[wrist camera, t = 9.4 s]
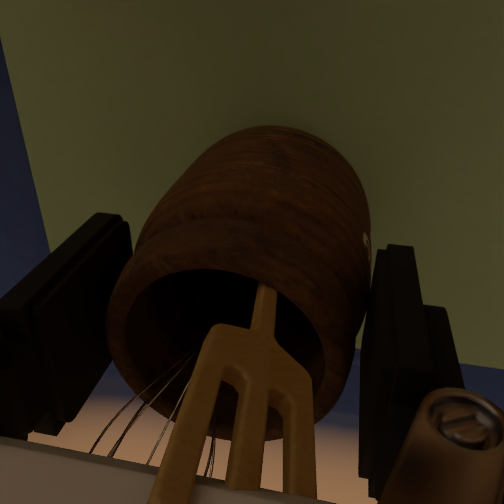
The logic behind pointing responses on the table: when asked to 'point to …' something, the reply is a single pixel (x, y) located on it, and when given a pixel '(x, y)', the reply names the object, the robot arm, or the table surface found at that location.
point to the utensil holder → (245, 306)
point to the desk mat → (280, 118)
